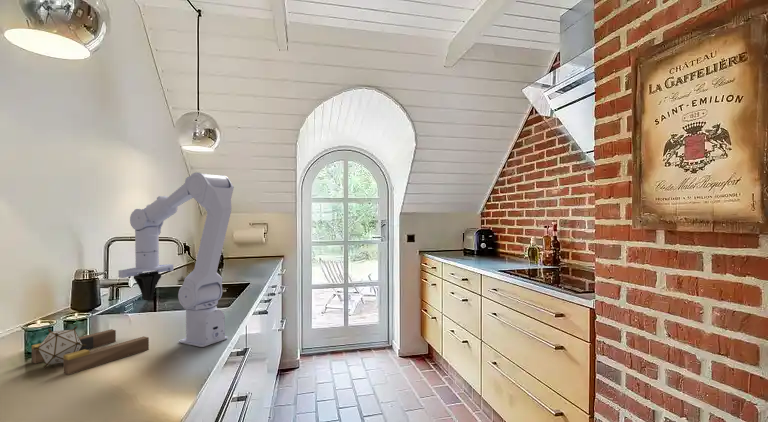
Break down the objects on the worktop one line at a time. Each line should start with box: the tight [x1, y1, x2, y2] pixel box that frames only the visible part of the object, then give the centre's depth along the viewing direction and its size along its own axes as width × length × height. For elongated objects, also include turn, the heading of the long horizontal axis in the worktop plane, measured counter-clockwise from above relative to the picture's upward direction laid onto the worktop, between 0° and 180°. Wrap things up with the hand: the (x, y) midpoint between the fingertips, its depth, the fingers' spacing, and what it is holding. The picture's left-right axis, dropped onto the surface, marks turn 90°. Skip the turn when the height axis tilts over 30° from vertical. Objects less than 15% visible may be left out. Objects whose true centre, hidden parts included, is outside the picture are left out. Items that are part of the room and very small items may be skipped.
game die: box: [33, 325, 86, 369], centre depth 89 cm, size 9×8×10 cm
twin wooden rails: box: [31, 329, 150, 375], centre depth 94 cm, size 16×17×4 cm
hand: (147, 299), depth 112 cm, fingers closed
